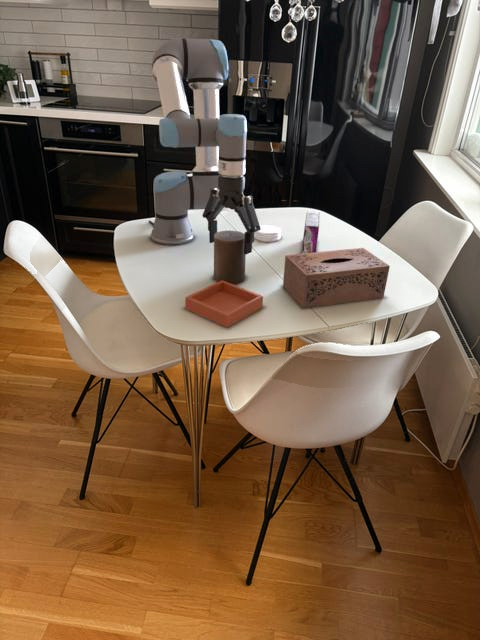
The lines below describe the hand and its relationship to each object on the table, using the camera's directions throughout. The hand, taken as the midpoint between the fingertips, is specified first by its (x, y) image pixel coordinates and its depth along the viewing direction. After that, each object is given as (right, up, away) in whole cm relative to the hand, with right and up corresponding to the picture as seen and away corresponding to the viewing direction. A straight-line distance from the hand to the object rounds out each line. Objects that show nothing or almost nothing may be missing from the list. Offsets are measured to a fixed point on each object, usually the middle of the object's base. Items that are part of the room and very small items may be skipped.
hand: (230, 247), depth 145 cm
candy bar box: (+27, +5, +19) cm, 33 cm away
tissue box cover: (+30, -14, -1) cm, 33 cm away
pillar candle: (0, -9, +5) cm, 10 cm away
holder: (-1, -18, -12) cm, 22 cm away
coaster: (+13, +9, +37) cm, 41 cm away
